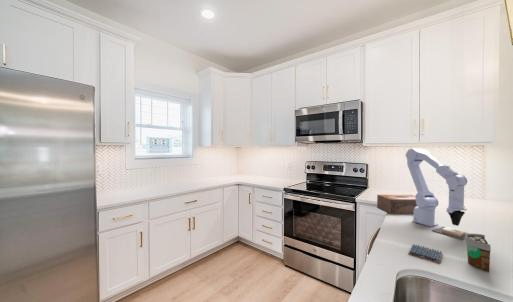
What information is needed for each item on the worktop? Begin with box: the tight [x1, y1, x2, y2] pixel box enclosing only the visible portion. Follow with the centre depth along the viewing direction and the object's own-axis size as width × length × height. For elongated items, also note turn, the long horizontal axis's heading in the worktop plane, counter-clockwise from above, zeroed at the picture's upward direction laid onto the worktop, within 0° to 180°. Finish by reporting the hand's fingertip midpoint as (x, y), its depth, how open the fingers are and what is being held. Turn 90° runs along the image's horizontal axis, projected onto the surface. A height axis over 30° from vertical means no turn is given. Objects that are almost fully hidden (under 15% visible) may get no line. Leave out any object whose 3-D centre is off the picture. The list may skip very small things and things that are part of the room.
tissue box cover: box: [376, 194, 417, 215], centre depth 152 cm, size 26×14×10 cm, turn 92°
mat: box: [431, 226, 470, 241], centre depth 112 cm, size 12×12×1 cm
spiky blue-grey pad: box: [407, 243, 443, 264], centre depth 89 cm, size 10×11×2 cm
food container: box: [463, 233, 492, 273], centre depth 82 cm, size 12×6×10 cm, turn 141°
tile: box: [442, 226, 466, 237], centre depth 110 cm, size 7×2×6 cm
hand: (455, 225), depth 111 cm, fingers closed
